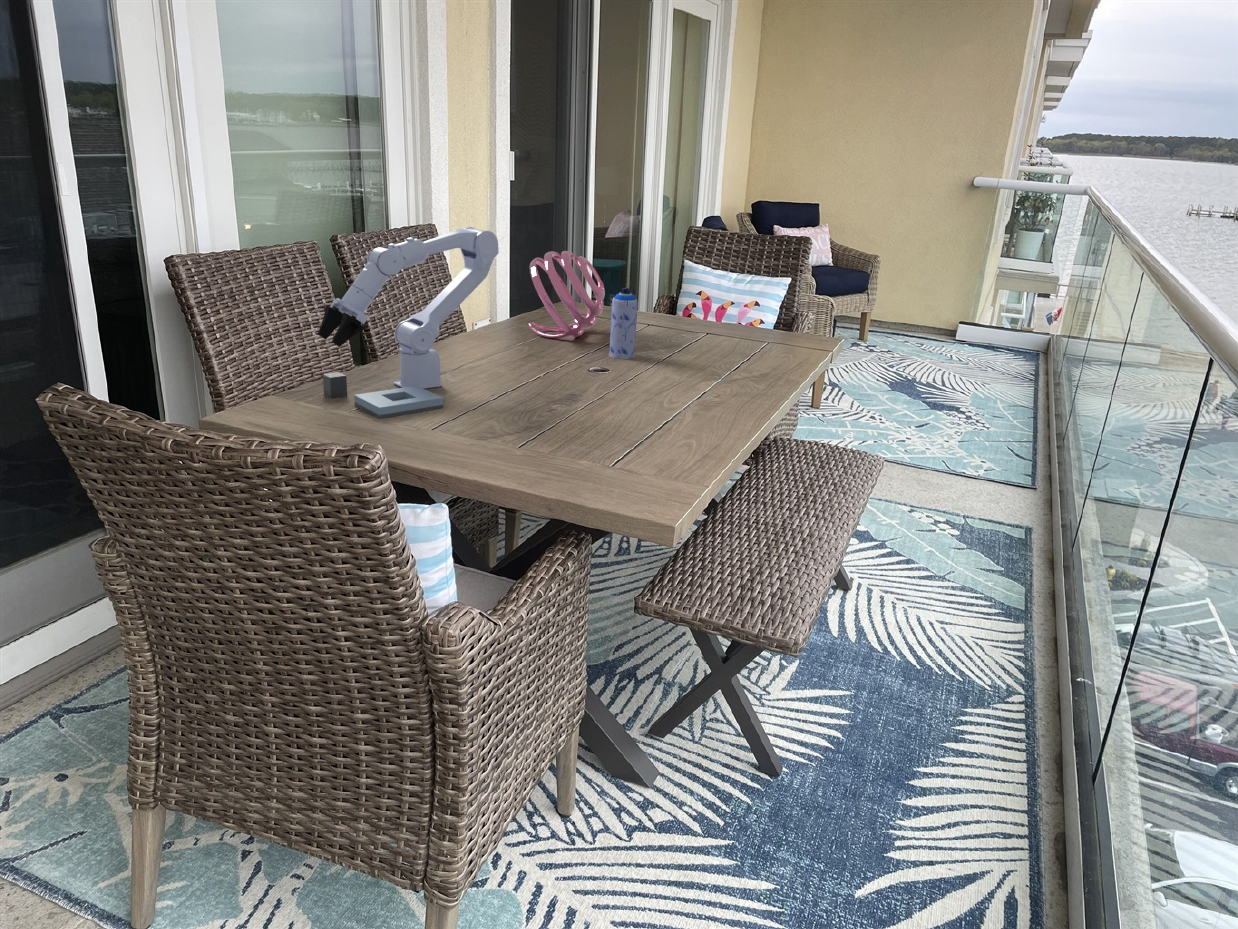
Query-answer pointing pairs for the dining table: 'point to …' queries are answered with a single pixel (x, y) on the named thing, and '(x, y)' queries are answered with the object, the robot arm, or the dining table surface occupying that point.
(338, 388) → the plug
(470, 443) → the dining table surface
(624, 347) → the aerosol can
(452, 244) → the robot arm
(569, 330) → the spiral basket
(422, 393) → the pale blue socket slab
